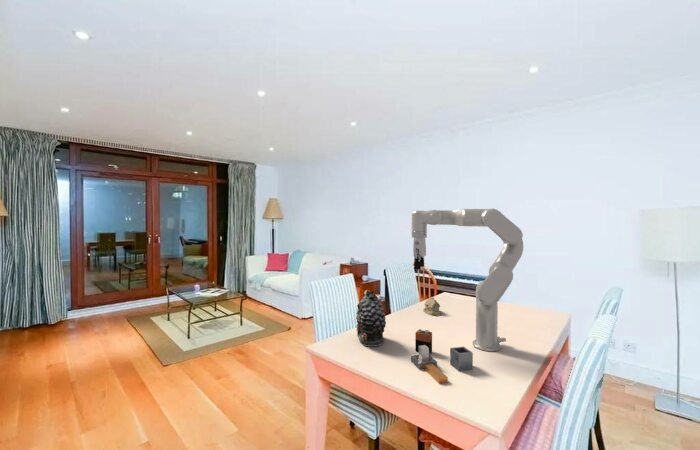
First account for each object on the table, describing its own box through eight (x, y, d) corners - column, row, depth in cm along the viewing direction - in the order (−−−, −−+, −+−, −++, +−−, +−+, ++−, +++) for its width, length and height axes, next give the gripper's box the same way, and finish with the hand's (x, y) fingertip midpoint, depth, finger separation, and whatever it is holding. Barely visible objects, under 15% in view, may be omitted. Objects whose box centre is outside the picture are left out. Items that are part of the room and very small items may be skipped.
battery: (429, 354, 146) (429, 333, 145) (415, 351, 149) (415, 330, 149) (432, 351, 149) (432, 330, 149) (418, 348, 153) (418, 327, 153)
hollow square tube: (463, 362, 137) (463, 346, 137) (472, 369, 131) (472, 352, 131) (450, 364, 136) (450, 348, 136) (458, 371, 130) (458, 354, 130)
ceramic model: (420, 310, 216) (420, 295, 216) (435, 309, 219) (435, 294, 219) (430, 316, 202) (430, 300, 202) (446, 315, 205) (446, 299, 205)
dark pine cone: (351, 334, 171) (350, 288, 171) (377, 332, 175) (377, 286, 174) (362, 350, 151) (361, 297, 151) (392, 346, 155) (391, 295, 154)
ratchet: (452, 381, 121) (452, 362, 121) (433, 384, 120) (433, 364, 119) (427, 359, 141) (427, 342, 141) (411, 361, 139) (411, 344, 139)
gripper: (423, 235, 155) (423, 271, 155) (429, 234, 170) (429, 266, 171) (408, 235, 158) (408, 270, 158) (415, 233, 173) (415, 265, 174)
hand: (419, 268), depth 164 cm, fingers open, 9 cm apart
